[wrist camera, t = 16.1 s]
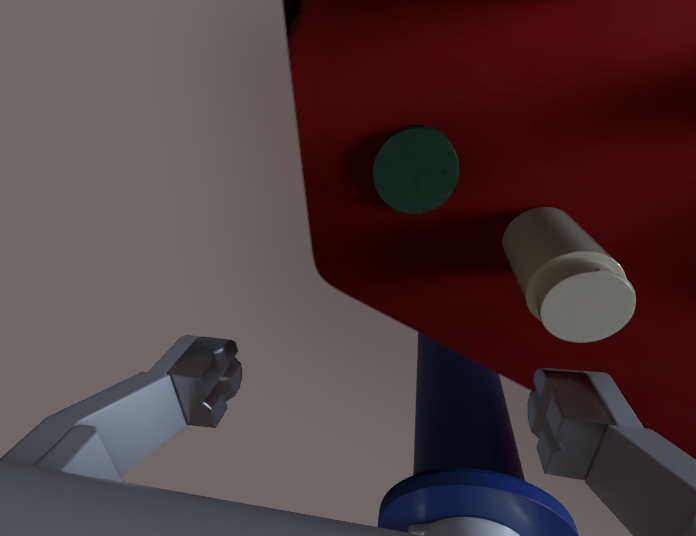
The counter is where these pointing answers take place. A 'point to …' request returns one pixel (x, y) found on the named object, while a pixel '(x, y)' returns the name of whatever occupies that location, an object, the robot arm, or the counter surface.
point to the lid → (416, 169)
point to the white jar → (567, 276)
